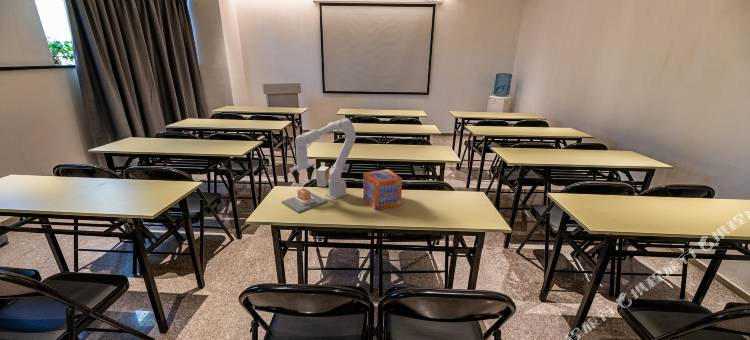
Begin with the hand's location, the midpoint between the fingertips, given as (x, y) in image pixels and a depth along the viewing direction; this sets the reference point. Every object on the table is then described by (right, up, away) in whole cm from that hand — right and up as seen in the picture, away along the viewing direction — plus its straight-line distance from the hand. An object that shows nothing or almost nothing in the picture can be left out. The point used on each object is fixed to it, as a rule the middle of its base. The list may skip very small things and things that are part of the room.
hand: (303, 181), depth 168 cm
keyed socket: (+1, -11, -4) cm, 12 cm away
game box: (+43, -11, -1) cm, 44 cm away
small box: (+7, -3, +21) cm, 23 cm away
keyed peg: (+1, -10, -4) cm, 11 cm away
